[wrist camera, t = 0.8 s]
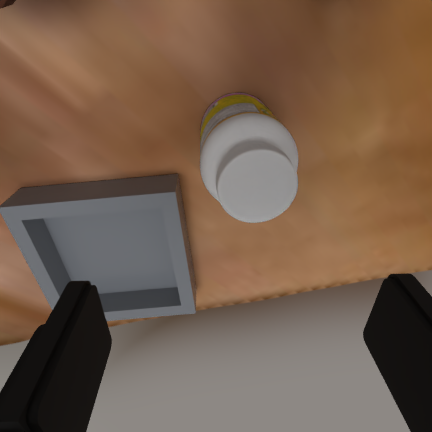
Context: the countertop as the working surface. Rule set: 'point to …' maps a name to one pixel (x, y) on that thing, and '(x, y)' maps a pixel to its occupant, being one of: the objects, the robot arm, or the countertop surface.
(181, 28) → the countertop surface
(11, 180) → the countertop surface
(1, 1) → the ice cream bowl
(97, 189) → the gray rectangular tray
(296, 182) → the supplement bottle
